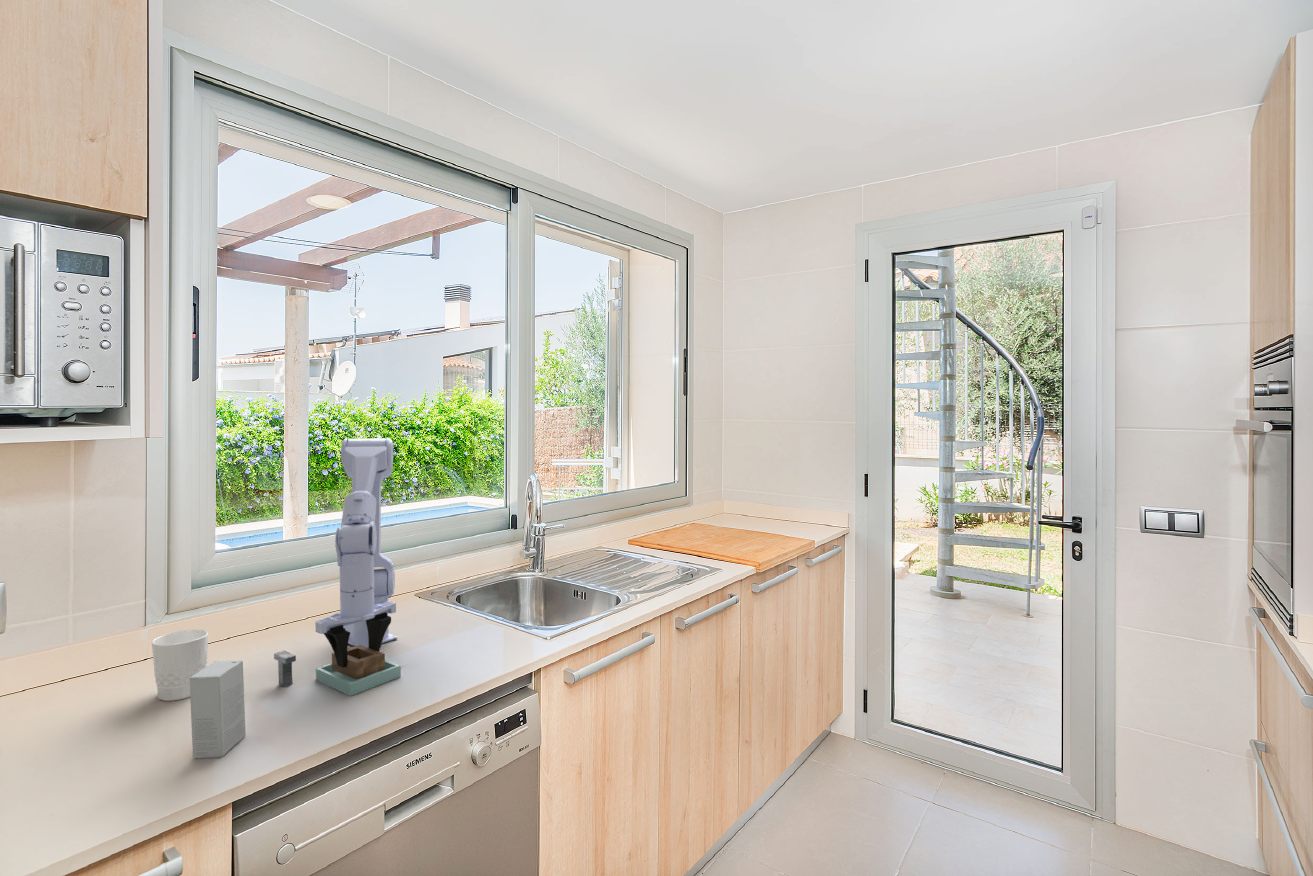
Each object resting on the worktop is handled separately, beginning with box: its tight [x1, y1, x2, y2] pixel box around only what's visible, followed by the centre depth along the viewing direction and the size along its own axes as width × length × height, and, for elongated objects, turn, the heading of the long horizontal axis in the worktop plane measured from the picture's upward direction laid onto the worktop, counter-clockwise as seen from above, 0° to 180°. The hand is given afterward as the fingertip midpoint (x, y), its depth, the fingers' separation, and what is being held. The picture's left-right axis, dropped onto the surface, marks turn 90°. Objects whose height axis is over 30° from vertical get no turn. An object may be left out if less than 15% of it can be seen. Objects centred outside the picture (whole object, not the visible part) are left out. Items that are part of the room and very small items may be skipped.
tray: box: [315, 659, 402, 697], centre depth 116 cm, size 12×10×2 cm
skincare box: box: [189, 660, 247, 759], centre depth 91 cm, size 6×4×12 cm
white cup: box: [151, 628, 209, 702], centre depth 109 cm, size 8×8×10 cm
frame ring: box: [331, 645, 386, 680], centre depth 116 cm, size 6×8×3 cm
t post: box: [273, 650, 297, 688], centre depth 113 cm, size 4×2×6 cm, turn 56°
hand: (358, 660), depth 116 cm, fingers closed on frame ring, 6 cm apart
